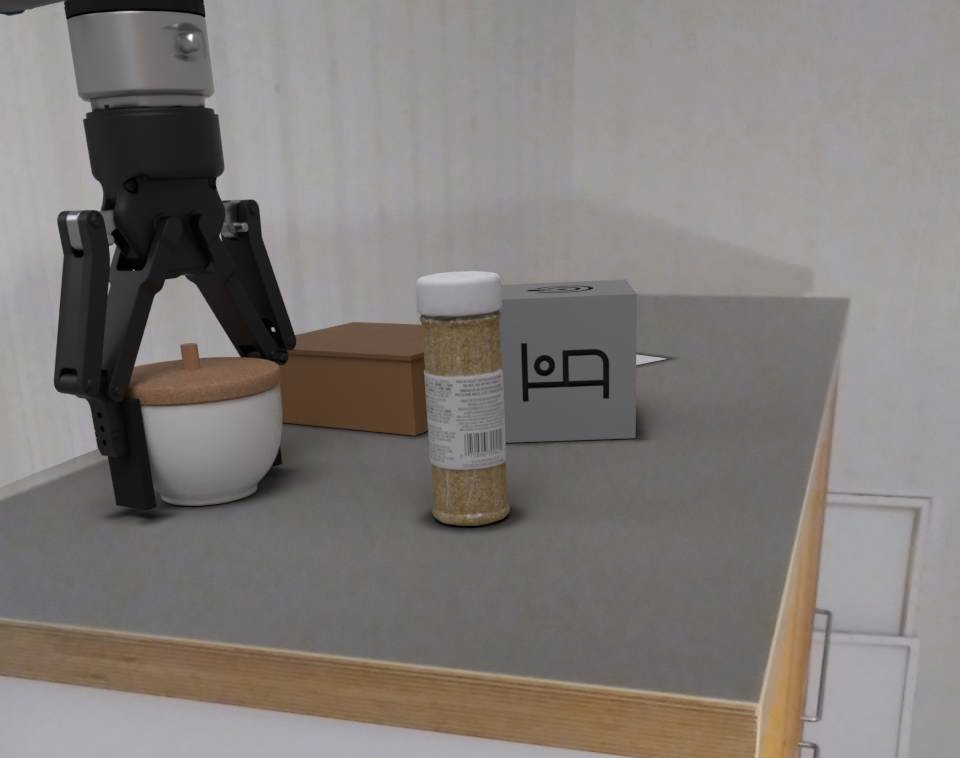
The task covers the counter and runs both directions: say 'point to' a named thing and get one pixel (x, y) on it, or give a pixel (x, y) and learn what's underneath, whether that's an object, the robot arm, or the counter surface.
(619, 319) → the icon cube
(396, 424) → the takeaway box
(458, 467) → the sprinkles bottle
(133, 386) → the trinket box
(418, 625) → the counter surface
